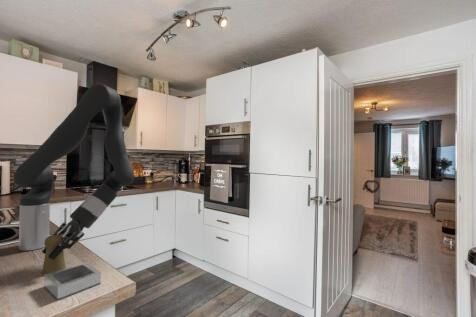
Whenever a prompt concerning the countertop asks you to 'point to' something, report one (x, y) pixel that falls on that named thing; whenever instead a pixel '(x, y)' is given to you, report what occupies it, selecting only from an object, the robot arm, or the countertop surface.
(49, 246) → the cork
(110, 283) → the countertop surface
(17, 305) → the countertop surface
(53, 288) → the grey shallow square box
